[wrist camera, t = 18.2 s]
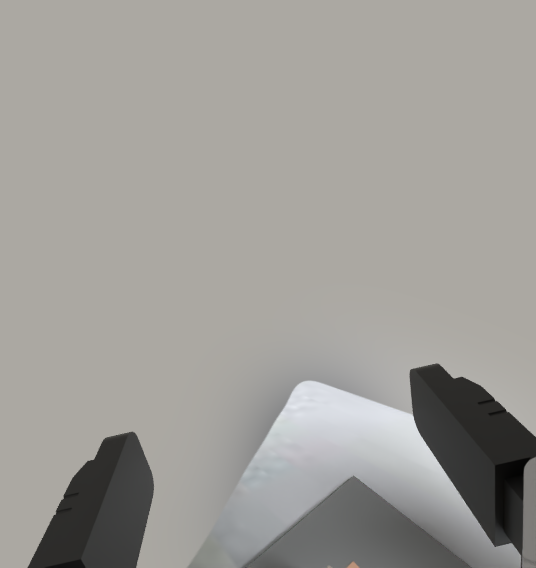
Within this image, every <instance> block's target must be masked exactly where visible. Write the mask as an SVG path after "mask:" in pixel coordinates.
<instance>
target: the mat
mask: <svg viewBox="0 0 536 568" xmlns="http://www.w3.org/2000/svg"><path fill="white" fill-rule="evenodd" d="M328 565H329V566H331V567H332V568H471V567H470V566H469V565H467V564H466V563H465V562H464V561H462V560H461V559H460V558H458V557H457V556H456V555H455V554H453V553H452V552H451V551H449V550H448V549H447V548H446V547H444V546H443V545H442V544H441V543H439V542H438V541H437V540H435V539H434V538H433V537H432V536H430V535H429V534H428V533H426V532H425V531H424V530H423V529H421V528H420V527H419V526H417V525H416V524H415V523H414V522H412V521H411V520H410V519H409V518H407V517H406V516H405V515H403V514H402V513H401V512H400V511H398V510H397V509H396V508H394V507H393V506H392V505H391V504H389V503H388V502H387V501H385V500H384V499H383V498H382V497H380V496H379V495H378V494H377V493H375V492H374V491H373V490H371V489H370V488H369V487H368V486H366V485H365V484H364V483H362V482H361V481H360V480H359V479H357V478H356V477H355V476H353V477H351V478H350V479H349V480H348V481H347V482H346V483H344V484H343V485H342V486H341V487H340V488H339V489H337V490H336V491H335V492H334V493H333V494H331V495H330V496H329V497H328V498H327V499H326V500H324V501H323V502H322V503H321V504H320V505H319V506H317V507H316V508H315V509H314V510H313V511H312V512H310V513H309V514H308V515H307V516H306V517H305V518H303V519H302V520H301V521H300V522H299V523H298V524H296V525H295V526H294V527H293V528H292V529H291V530H289V531H288V532H287V533H286V534H285V535H284V536H282V537H281V538H280V539H279V540H278V541H277V542H275V543H274V544H273V545H272V546H271V547H270V548H268V549H267V550H266V551H265V552H264V553H263V554H261V555H260V556H259V557H258V558H257V559H256V560H254V561H253V562H252V563H251V564H250V565H249V566H247V567H246V568H327V566H328Z"/></svg>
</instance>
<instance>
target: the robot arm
mask: <svg viewBox="0 0 536 568" xmlns="http://www.w3.org/2000/svg"><path fill="white" fill-rule="evenodd" d="M410 385H411V397H412V408H413V416H414V420H415V423H416V426H417V428H418V431H419V433H420V435H421V436H422V438H423V439H424V441H425V442H426V444H427V445H428V447H429V448H430V450H431V451H432V453H433V454H434V456H435V457H436V459H437V460H438V462H439V463H440V465H441V466H442V468H443V469H444V471H445V472H446V474H447V475H448V477H449V478H450V480H451V481H452V483H453V484H454V486H455V487H456V489H457V490H458V492H459V493H460V495H461V496H462V498H463V499H464V501H465V502H466V504H467V505H468V507H469V508H470V510H471V511H472V513H473V514H474V516H475V517H476V519H477V520H478V522H479V523H480V525H481V526H482V528H483V529H484V531H485V532H486V534H487V536H488V537H489V539H490V540H491V542H492V543H493V545H494V546H495V547H496V546H500V545H505V544H509V543H513V545H514V546H515V548H516V549H517V550H518V552H519V553H520V555H521V568H536V437H535V436H534V435H533V434H532V433H530V432H529V431H528V430H527V429H526V428H525V427H524V426H523V425H522V424H521V423H520V422H519V421H518V420H517V419H516V418H515V417H513V416H512V415H511V414H510V413H509V412H508V413H507V411H506V409H505V408H504V407H503V406H502V405H501V404H500V403H498V402H497V401H495V399H494V398H493V397H492V396H491V395H490V394H489V393H488V392H487V391H486V390H485V389H484V388H483V387H481V386H480V385H478V384H476V383H474V382H472V381H470V380H468V379H466V378H463V377H459V378H456V379H453V378H452V377H451V376H450V375H449V374H448V373H447V372H446V371H445V370H444V368H443V367H441V366H440V365H439V364H432V365H428V366H424V367H419V368H415V369H411V370H410ZM153 490H154V484H153V476H152V472H151V470H150V467H149V465H148V462H147V460H146V457H145V455H144V452H143V450H142V447H141V445H140V442H139V440H138V437H137V435H136V434H135V433H134V432H129V433H124V434H120V435H116V436H111V437H107V438H105V439H104V440H103V442H102V444H101V446H100V448H99V451H98V452H97V455H96V457H95V459H94V460H91V461H87V463H86V464H85V465H84V466H83V467H82V468H81V469H80V470H79V471H78V472H77V474H76V475H75V476H74V477H73V478H72V480H71V482H70V484H69V486H68V488H67V490H66V492H65V494H64V499H63V500H61V502H60V504H59V506H58V508H57V510H56V515H54V516H53V518H52V520H51V522H50V524H49V526H48V528H47V530H46V532H45V534H44V536H43V538H42V540H41V542H40V544H39V546H38V548H37V551H36V552H35V554H34V556H33V558H32V560H31V562H30V564H29V566H28V568H136V565H137V560H138V557H139V552H140V548H141V544H142V540H143V535H144V531H145V527H146V523H147V519H148V515H149V511H150V506H151V502H152V498H153Z"/></svg>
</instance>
